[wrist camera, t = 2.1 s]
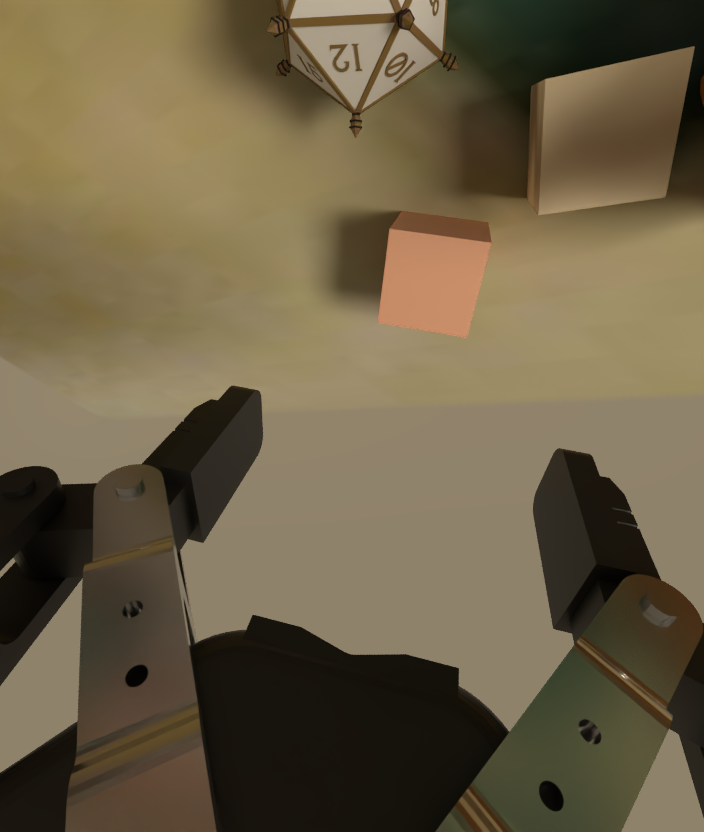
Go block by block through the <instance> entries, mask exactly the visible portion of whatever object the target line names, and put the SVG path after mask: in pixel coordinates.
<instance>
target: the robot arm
mask: <svg viewBox="0 0 704 832" xmlns="http://www.w3.org/2000/svg"><path fill="white" fill-rule="evenodd" d="M262 439H263V427H262V404H261V394H260V392H259V391H258V390H254V389H248V388H243V387H238V386H231V387H230V388H229V389H228V390H227V391H226V392H225V393H224V394H223V395H222V396H221V398H220V399H219V400H218V401H217V400H212V399H211V400H209V401H207V402H205V403H203V404H201V405H199V406H197V407H196V408H194V409H193V410H192V411H191V412H190V414H189V415H188V416H187V417H186V418H185V419H184V422H181V423H180V424H179V425H178V426H177V427H176V428H175V431H173V432H172V433H171V434H170V435H169V436H168V437H167V438H166V439H165V440H164V441H163V442H162V443H161V444H160V445H159V446H158V447H157V448H156V450H155V451H154V452H153V453H152V454H151V455H150V456H149V457H148V458H147V459H146V460H145V461H144V462H143V463H142V464H138V465H137V464H136V465H128V466H124V467H121V468H119V469H116V470H114V471H112V472H110V473H108V474H107V475H105V476H104V477H103V478H102V479H101V480H100V481H99V482H98V483H93V484H63V485H61V483H60V481H59V478H58V476H57V474H56V473H55V472H54V471H53V470H52V469H50V468H47V467H41V466H31V467H24V468H19V469H16V470H13V471H10V472H7V473H5V474H3V475H1V476H0V571H1V570H2V568H3V567H4V566H5V565H6V564H7V563H8V562H9V561H10V560H11V559H12V558H14V559H15V561H16V562H15V563H14V564H13V565H12V567H10V568H9V569H8V571H7V572H6V573H5V574H4V575H3V576H2V577H1V578H0V686H1V684H2V683H3V682H4V680H5V679H6V678H7V676H8V675H9V674H10V672H11V671H12V670H13V668H14V667H15V666H16V665H17V663H18V662H19V660H20V659H21V658H22V657H23V655H24V654H25V653H26V651H27V650H28V649H29V647H30V646H31V645H32V643H33V642H34V641H35V639H36V638H37V637H38V636H39V634H40V633H41V632H42V630H43V629H44V628H45V626H46V625H47V624H48V622H49V621H50V620H51V619H52V617H53V616H54V615H55V613H56V612H57V611H58V609H59V608H60V607H61V605H62V604H63V603H64V602H65V600H66V599H67V598H68V596H69V595H70V594H71V592H72V591H73V590H74V588H75V587H76V586H77V584H78V583H79V582H80V581H81V579H82V578H83V582H82V611H81V640H80V668H79V696H78V698H79V699H78V721H77V722H76V723H74V724H73V725H71V726H70V727H68V728H67V729H65V730H64V731H62V732H61V733H59V734H58V735H56V736H55V737H53V738H52V739H50V740H49V741H48V742H46V743H44V744H43V745H41V746H40V747H38V748H37V749H35V750H34V751H32V752H31V753H29V754H28V755H26V756H25V757H23V758H22V759H20V760H19V761H17V762H16V763H14V764H13V765H11V766H10V767H9V768H7V769H6V770H4V771H2V772H1V773H0V832H621V831H622V829H623V827H624V824H625V822H626V820H627V818H628V816H629V814H630V811H631V809H632V807H633V805H634V803H635V801H636V799H637V797H638V794H639V792H640V790H641V788H642V786H643V784H644V782H645V779H646V777H647V775H648V773H649V771H650V768H651V766H652V764H653V762H654V760H655V758H656V756H657V753H658V751H659V749H660V747H661V745H662V743H663V740H664V738H665V736H666V734H667V732H668V730H669V729H671V730H673V731H674V732H676V733H678V734H679V736H680V740H681V743H682V746H683V750H684V753H685V756H686V760H687V763H688V766H689V770H690V773H691V776H692V780H693V783H694V787H695V790H696V793H697V796H698V800H699V803H700V807H701V810H702V814H703V817H704V623H702V620H701V618H700V615H699V613H698V612H697V610H696V609H695V607H694V606H693V605H692V603H691V602H690V601H689V600H688V599H687V598H686V597H685V596H684V595H683V594H681V593H680V592H679V591H678V590H677V589H675V588H674V587H672V586H671V585H669V584H667V583H666V582H664V581H661V579H660V576H659V574H658V572H657V569H656V567H655V565H654V562H653V560H652V558H651V556H650V553H649V551H648V548H647V546H646V544H645V541H644V539H643V537H642V534H641V532H640V530H639V529H637V526H638V525H637V523H636V521H635V518H634V516H633V515H632V514H631V509H630V506H629V504H628V502H627V499H626V497H625V495H624V494H623V492H622V491H621V490H620V489H619V488H618V487H617V486H616V485H615V484H614V483H613V482H612V481H611V479H610V478H607V477H601V476H600V475H599V473H598V470H597V467H596V465H595V462H594V460H593V457H592V456H591V455H590V454H586V453H581V452H576V451H571V450H565V449H560V448H559V449H557V450H556V451H555V452H554V454H553V456H552V458H551V460H550V463H549V465H548V467H547V469H546V471H545V473H544V476H543V478H542V480H541V482H540V484H539V486H538V489H537V491H536V494H535V497H534V503H533V515H534V521H535V527H536V533H537V538H538V544H539V550H540V555H541V561H542V567H543V573H544V578H545V584H546V590H547V596H548V601H549V607H550V613H551V618H552V624H553V628H554V629H556V630H560V631H565V632H568V633H572V635H573V640H574V646H573V647H572V649H571V650H570V651H569V653H568V654H567V656H566V657H565V658H564V660H563V661H562V662H561V664H560V665H559V666H558V668H557V669H556V670H555V672H554V673H553V674H552V676H551V677H550V678H549V680H548V681H547V682H546V684H545V685H544V687H543V688H542V689H541V691H540V692H539V693H538V694H537V696H536V697H535V699H534V700H533V701H532V703H531V704H530V705H529V707H528V708H527V709H526V711H525V712H524V713H523V715H522V716H521V717H520V719H519V720H518V721H517V723H516V724H515V726H514V727H513V728H512V729H511V731H510V732H509V731H508V730H507V728H506V727H505V726H504V725H503V723H502V722H501V721H500V720H499V719H498V718H497V717H496V716H495V714H494V713H493V712H492V711H491V710H490V709H489V708H487V706H485V705H484V704H483V703H482V702H481V701H480V700H478V699H477V698H476V697H475V696H473V695H472V694H470V693H469V692H468V691H466V690H465V689H463V688H461V687H459V686H458V684H459V681H458V680H459V668H456V667H452V666H448V665H444V664H440V663H436V662H433V661H429V660H425V659H421V658H417V657H413V656H410V655H406V654H405V655H404V654H403V655H402V654H401V655H351V654H348V653H345V652H343V651H342V650H340V649H338V648H336V647H334V646H333V645H331V644H329V643H328V642H326V641H324V640H322V639H321V638H319V637H317V636H316V635H313V634H312V633H310V632H309V631H307V630H305V629H303V628H302V627H298V626H294V625H290V624H287V623H283V622H279V621H275V620H271V619H268V618H264V617H260V616H256V615H253V616H252V618H251V620H250V623H249V625H248V627H247V630H237V631H231V632H225V633H221V634H218V635H214V636H211V637H209V638H206V639H204V640H201V641H199V642H197V638H196V633H195V629H194V623H193V618H192V613H191V607H190V602H189V595H188V590H187V585H186V578H185V572H184V567H183V561H182V556H181V551H180V550H181V548H182V547H183V545H184V544H185V542H186V541H187V539H190V540H194V541H198V542H204V541H205V539H206V538H207V536H208V534H209V533H210V531H211V530H212V528H213V526H214V525H215V523H216V522H217V520H218V518H219V517H220V515H221V514H222V512H223V510H224V509H225V507H226V506H227V504H228V502H229V501H230V499H231V498H232V496H233V494H234V492H235V491H236V489H237V488H238V486H239V485H240V483H241V481H242V480H243V478H244V477H245V475H246V473H247V472H248V470H249V468H250V467H251V465H252V464H253V462H254V461H255V459H256V457H257V456H258V453H259V451H260V448H261V445H262Z"/></svg>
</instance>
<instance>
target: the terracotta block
mask: <svg viewBox="0 0 704 832" xmlns="http://www.w3.org/2000/svg"><path fill="white" fill-rule="evenodd" d="M491 244H492V242H491V236H490V231H489V226H488V223H487V222H479V221H472V220H464V219H457V218H449V217H442V216H434V215H427V214H419V213H412V212H404V211H402V212H401V213H400V214H399V216H398V217H397V219H396V220H395V222H394V223H393V225H392V226H391V227H390V229H389V237H388V245H387V253H386V261H385V269H384V277H383V285H382V293H381V301H380V309H379V317H378V323H382V324H388V325H394V326H400V327H406V328H412V329H418V330H424V331H430V332H436V333H442V334H448V335H454V336H460V337H466V338H467V336H468V332H469V328H470V324H471V320H472V317H473V313H474V309H475V305H476V301H477V297H478V294H479V290H480V286H481V282H482V278H483V274H484V271H485V267H486V263H487V259H488V255H489V251H490V248H491Z"/></svg>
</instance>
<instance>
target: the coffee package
mask: <svg viewBox="0 0 704 832" xmlns="http://www.w3.org/2000/svg"><path fill="white" fill-rule="evenodd" d="M700 95H701V97H702V103H703V106H704V75H703V77H702V78H701V80H700Z"/></svg>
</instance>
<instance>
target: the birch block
mask: <svg viewBox="0 0 704 832" xmlns="http://www.w3.org/2000/svg"><path fill="white" fill-rule="evenodd" d="M694 48H695V46H693V47H688V48H684V49H679V50H675V51H670V52H666V53H661V54H657V55H652V56H648V57H643V58H639V59H634V60H630V61H625V62H621V63H616V64H612V65H607V66H603V67H598V68H593V69H589V70H584V71H580V72H575V73H571V74H566V75H562V76H557V77H553V78H548V79H545V80H543V81H541V82H539V83H537V84H534V85H532V86H531V105H530V131H529V157H528V184H527V200H528V201H529V202H530V204H531V205H532V207H533V208H534V210H535V211H536V212H537V214H538V215H544V214H551V213H558V212H565V211H572V210H579V209H586V208H594V207H601V206H608V205H615V204H622V203H629V202H636V201H643V200H650V199H657V198H664V197H666V193H667V188H668V183H669V177H670V172H671V167H672V162H673V157H674V152H675V146H676V141H677V136H678V131H679V126H680V121H681V115H682V110H683V105H684V100H685V95H686V89H687V84H688V79H689V74H690V69H691V64H692V58H693V53H694Z"/></svg>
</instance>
